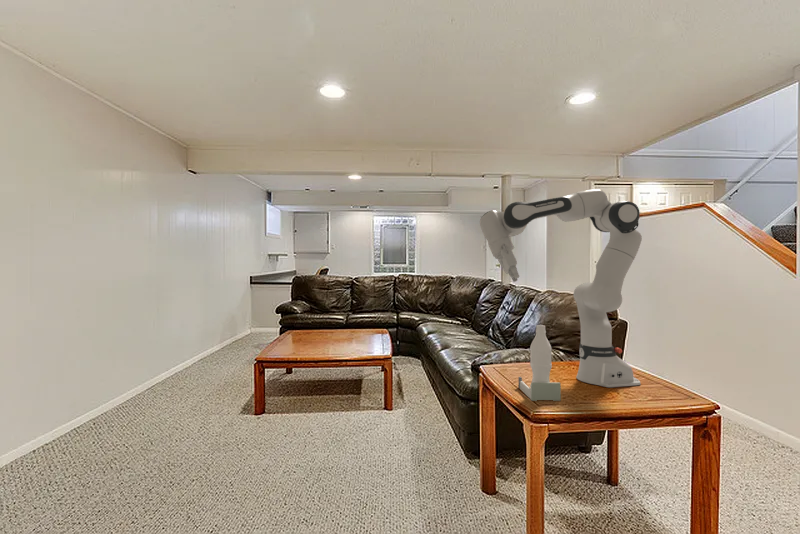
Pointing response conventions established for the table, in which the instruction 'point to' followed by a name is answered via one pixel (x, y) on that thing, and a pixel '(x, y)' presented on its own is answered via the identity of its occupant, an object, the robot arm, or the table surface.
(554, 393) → the bay
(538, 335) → the water bottle
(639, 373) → the table surface
